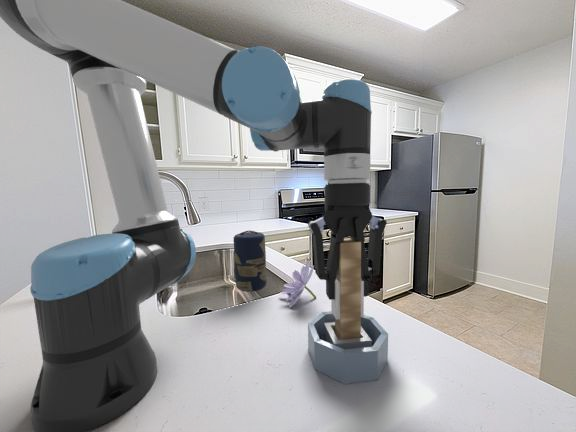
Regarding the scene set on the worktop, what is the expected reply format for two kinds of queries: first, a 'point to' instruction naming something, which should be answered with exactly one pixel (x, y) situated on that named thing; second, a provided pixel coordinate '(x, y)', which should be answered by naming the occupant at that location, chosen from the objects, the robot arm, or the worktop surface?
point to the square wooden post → (349, 290)
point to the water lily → (298, 284)
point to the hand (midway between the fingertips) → (347, 314)
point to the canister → (250, 261)
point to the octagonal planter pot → (348, 350)
